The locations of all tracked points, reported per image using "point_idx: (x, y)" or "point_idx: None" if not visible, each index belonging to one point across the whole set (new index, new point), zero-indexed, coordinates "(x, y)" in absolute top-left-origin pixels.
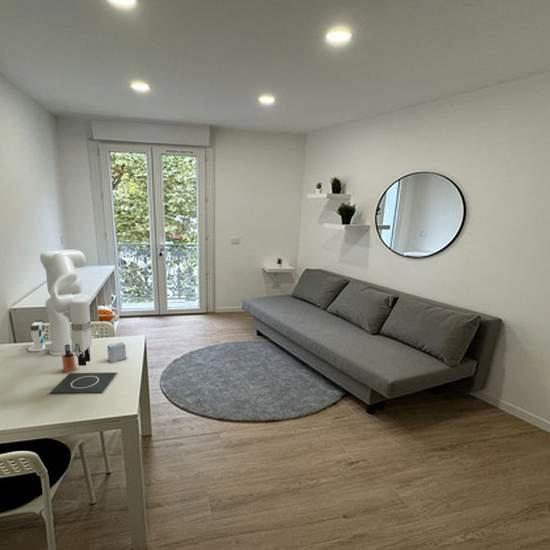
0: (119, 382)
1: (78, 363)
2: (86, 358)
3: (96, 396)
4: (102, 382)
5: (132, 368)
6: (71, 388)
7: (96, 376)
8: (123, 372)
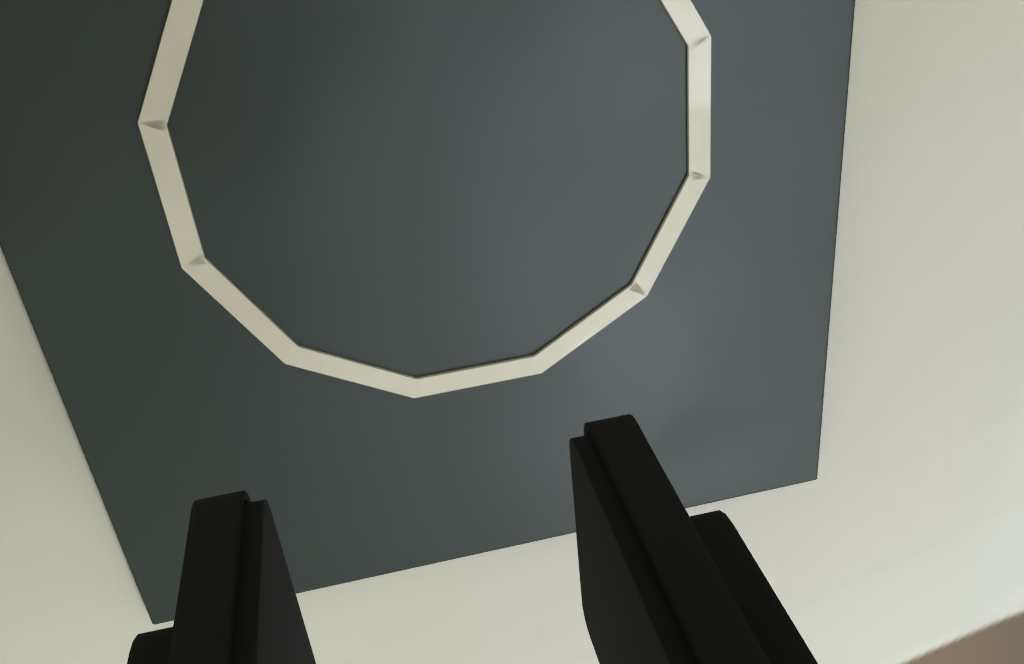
0: (520, 647)
1: (183, 563)
2: (613, 638)
3: (26, 596)
4: (460, 470)
5: (954, 582)
6: (107, 18)
7: (687, 241)
8: (840, 538)
